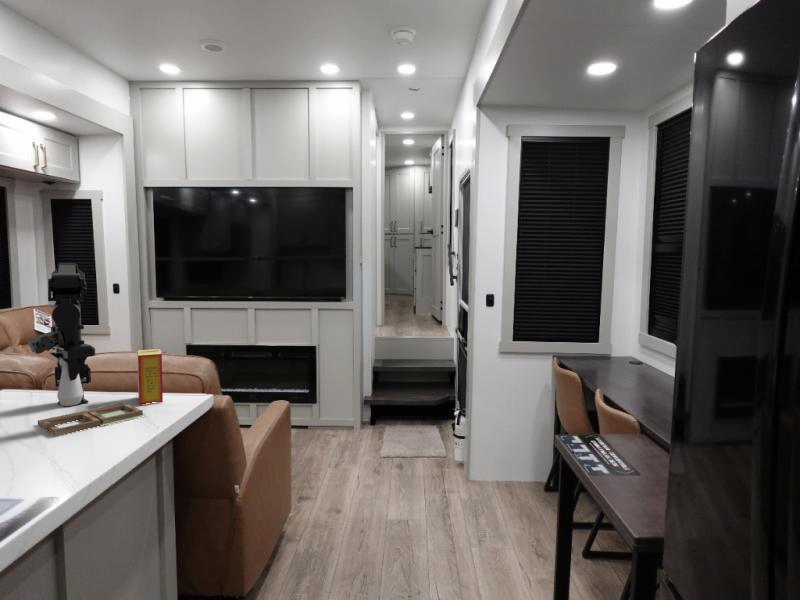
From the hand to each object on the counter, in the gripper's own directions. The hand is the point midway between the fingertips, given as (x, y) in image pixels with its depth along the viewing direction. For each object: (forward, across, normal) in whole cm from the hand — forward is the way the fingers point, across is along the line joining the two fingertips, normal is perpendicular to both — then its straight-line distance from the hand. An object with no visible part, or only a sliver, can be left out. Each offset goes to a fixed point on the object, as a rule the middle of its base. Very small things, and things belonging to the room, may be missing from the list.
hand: (69, 379), depth 127 cm
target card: (+13, 0, +11) cm, 17 cm away
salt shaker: (+7, 0, 0) cm, 7 cm away
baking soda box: (+13, -9, +25) cm, 30 cm away
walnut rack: (+13, -1, +5) cm, 14 cm away
